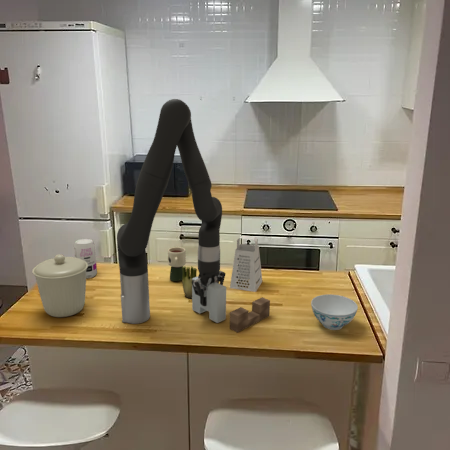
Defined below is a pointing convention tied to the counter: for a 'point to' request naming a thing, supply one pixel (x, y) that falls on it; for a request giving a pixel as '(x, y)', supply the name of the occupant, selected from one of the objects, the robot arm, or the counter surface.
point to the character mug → (176, 262)
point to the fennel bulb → (188, 280)
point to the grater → (246, 266)
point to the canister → (61, 285)
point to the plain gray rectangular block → (212, 302)
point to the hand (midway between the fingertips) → (208, 303)
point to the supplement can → (86, 255)
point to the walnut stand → (249, 315)
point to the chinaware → (333, 310)
